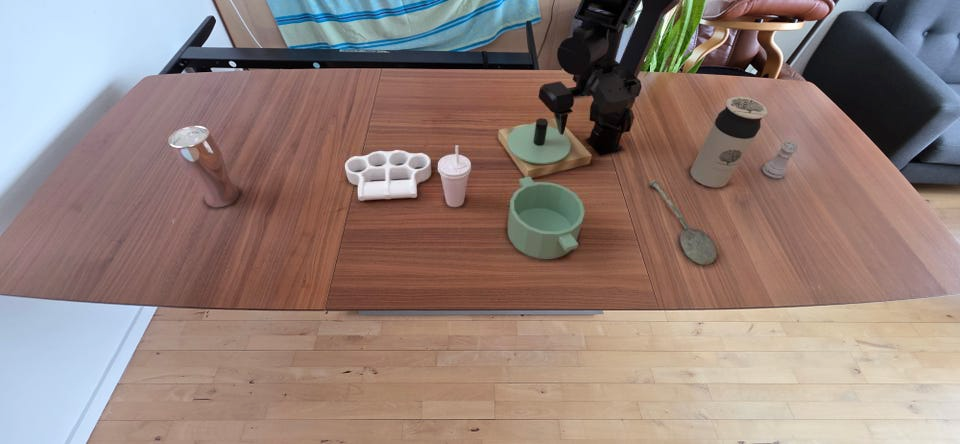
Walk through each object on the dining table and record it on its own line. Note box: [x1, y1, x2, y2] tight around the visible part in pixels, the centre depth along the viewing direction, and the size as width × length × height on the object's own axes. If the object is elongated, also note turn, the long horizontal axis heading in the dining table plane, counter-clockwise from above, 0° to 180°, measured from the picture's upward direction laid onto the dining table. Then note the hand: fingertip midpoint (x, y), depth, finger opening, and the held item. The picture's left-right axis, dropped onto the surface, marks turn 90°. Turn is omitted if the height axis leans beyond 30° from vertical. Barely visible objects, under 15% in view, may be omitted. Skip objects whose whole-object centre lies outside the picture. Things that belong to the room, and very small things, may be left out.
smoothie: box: [437, 144, 472, 208], centre depth 83 cm, size 6×6×14 cm
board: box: [497, 117, 593, 179], centre depth 100 cm, size 16×16×2 cm
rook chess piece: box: [762, 140, 799, 180], centre depth 95 cm, size 4×4×8 cm
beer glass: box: [167, 125, 240, 208], centre depth 82 cm, size 7×7×15 cm
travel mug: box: [689, 96, 768, 188], centre depth 90 cm, size 8×8×18 cm
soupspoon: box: [649, 179, 718, 266], centre depth 85 cm, size 22×3×7 cm
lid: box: [507, 118, 571, 164], centre depth 96 cm, size 14×14×7 cm
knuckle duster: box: [344, 149, 432, 202], centre depth 91 cm, size 3×18×15 cm
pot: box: [507, 176, 586, 260], centre depth 81 cm, size 13×19×7 cm
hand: (581, 129), depth 85 cm, fingers open, 9 cm apart
